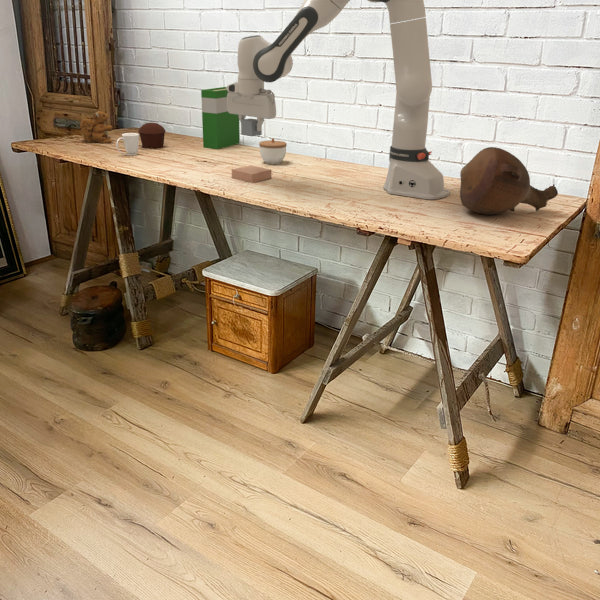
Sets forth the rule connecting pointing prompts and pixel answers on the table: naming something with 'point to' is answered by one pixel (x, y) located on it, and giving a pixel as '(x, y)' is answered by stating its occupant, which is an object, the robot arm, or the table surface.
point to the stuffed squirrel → (96, 128)
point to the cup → (130, 143)
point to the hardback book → (218, 120)
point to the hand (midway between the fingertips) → (251, 129)
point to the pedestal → (251, 173)
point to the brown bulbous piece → (499, 184)
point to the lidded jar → (272, 151)
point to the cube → (249, 127)
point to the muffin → (152, 135)
